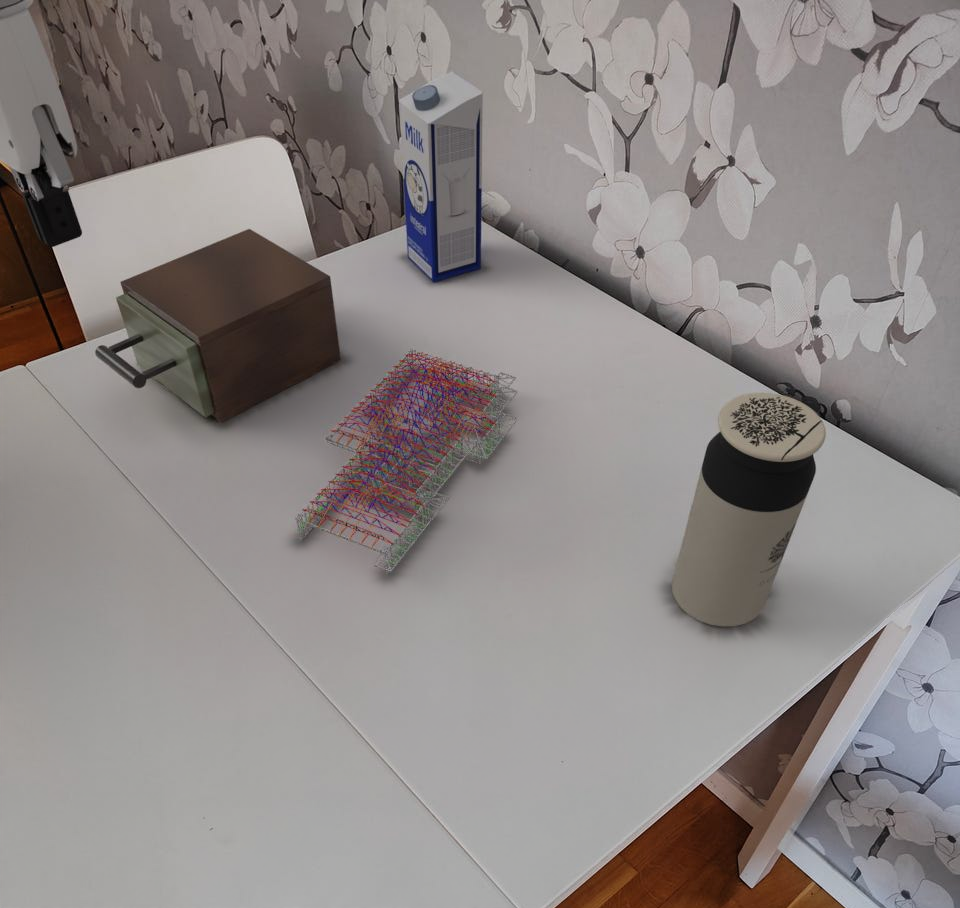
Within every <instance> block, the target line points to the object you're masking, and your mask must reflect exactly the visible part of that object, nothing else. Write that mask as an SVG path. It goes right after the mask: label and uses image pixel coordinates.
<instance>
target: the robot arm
mask: <svg viewBox="0 0 960 908" xmlns="http://www.w3.org/2000/svg"><path fill="white" fill-rule="evenodd" d="M33 3H34V0H0V162H1V163H3V164H5V165H6V166H7V167H9V169H10V172H11V175H12V177H13V179H14V181H15V183H16V185H17V187H18V188H19V190H20V191H21V192H22V193H21V196H22V199H23V202H24V204H25V206H26V207H25V208H26V209H27V212H28V215H29V217H30V219H31V223H32V225H33V228H34V230H35V234H36V235H37V238H38V239H39V240H40V241H41V242H42V243H44V244H45V245H46V246H48V247H50V248H54V247H57V246H59V245H63V244H66V243H68V242H71V241H72V240H76V239H78V238H80V237H82V235H83V231H82V230H83V229H82V227H81V224H80V221H79V218H78V216H77V213H76V209H75V207H74V204H73V202H72V197H71V194H70V192H69V190H70V187H69V185H73V184H75V177H74V175H73V172H72V170H71V167H70V165H69V163H68V160H67V159H69V160H74V159H75V158H76V157H77V154H78V145H77V144H78V143H77V140H76V136H75V133H74V129H73V125H72V122H71V119H70V115H69V112H68V109H67V106H66V103H65V101H64V97H63V95H62V92H61V89H60V86H59V83H58V81H57V78H56V75H55V72H54V70H53V67H52V64H51V62H50V59H49V57H48V55H47V52H46V50H45V47H44V45H43V41H42V39H41V37H40V34H39V31H38V30H37V27H36V25H35V22H34V19H33V17H32V15H31V13H30V11H29V8H30V7H31V6H32V5H33Z"/></svg>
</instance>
